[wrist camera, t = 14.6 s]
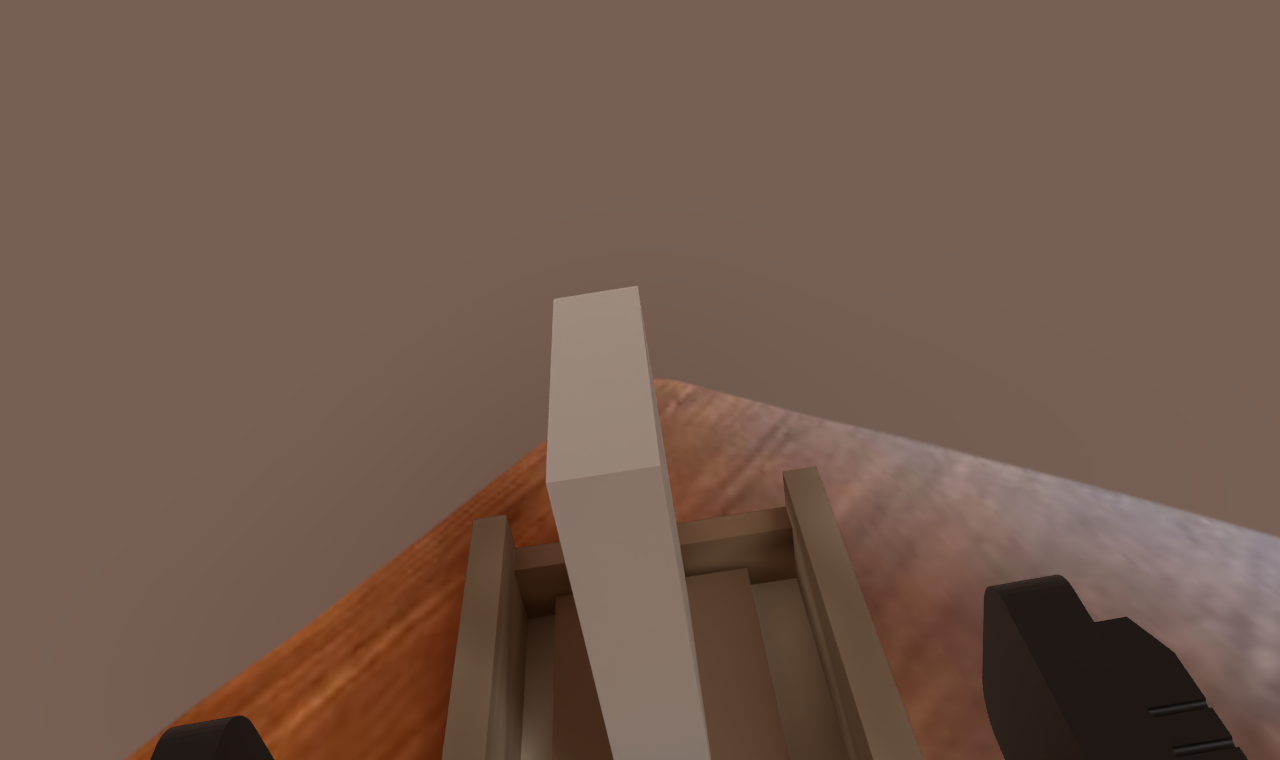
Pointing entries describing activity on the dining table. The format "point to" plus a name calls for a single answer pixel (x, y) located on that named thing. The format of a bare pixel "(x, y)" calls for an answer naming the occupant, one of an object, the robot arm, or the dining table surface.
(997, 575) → the dining table surface
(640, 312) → the place card sign
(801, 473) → the brown wooden tray
